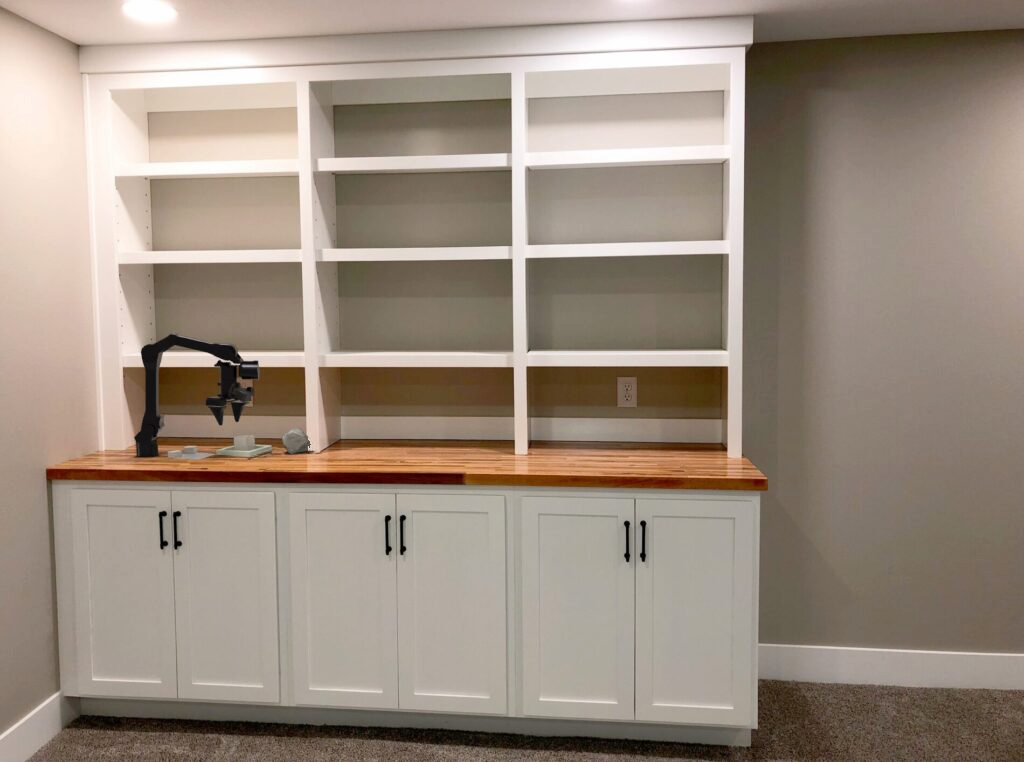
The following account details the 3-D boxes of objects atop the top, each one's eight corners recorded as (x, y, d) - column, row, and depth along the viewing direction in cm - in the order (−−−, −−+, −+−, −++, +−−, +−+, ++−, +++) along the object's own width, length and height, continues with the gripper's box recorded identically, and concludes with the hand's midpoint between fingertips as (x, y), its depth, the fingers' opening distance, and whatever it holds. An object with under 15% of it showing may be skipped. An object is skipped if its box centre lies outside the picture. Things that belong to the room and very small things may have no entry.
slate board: (165, 460, 288) (165, 451, 288) (189, 454, 299) (188, 445, 299) (196, 462, 284) (196, 453, 284) (219, 456, 296) (219, 447, 295)
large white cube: (234, 454, 296) (233, 437, 296) (242, 451, 301) (242, 435, 301) (246, 454, 295) (245, 437, 294) (255, 452, 300) (254, 435, 299)
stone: (300, 422, 306) (285, 426, 297) (319, 441, 305) (305, 445, 295) (285, 441, 308) (270, 445, 299) (304, 460, 307) (290, 464, 297)
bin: (216, 457, 294) (216, 450, 293) (240, 450, 307) (239, 443, 306) (249, 459, 290) (249, 452, 289) (272, 452, 302) (272, 445, 302)
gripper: (231, 383, 284) (232, 428, 285) (264, 378, 301) (264, 421, 303) (203, 381, 287) (204, 426, 288) (237, 377, 305) (237, 419, 306)
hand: (229, 423), depth 296 cm, fingers open, 9 cm apart
